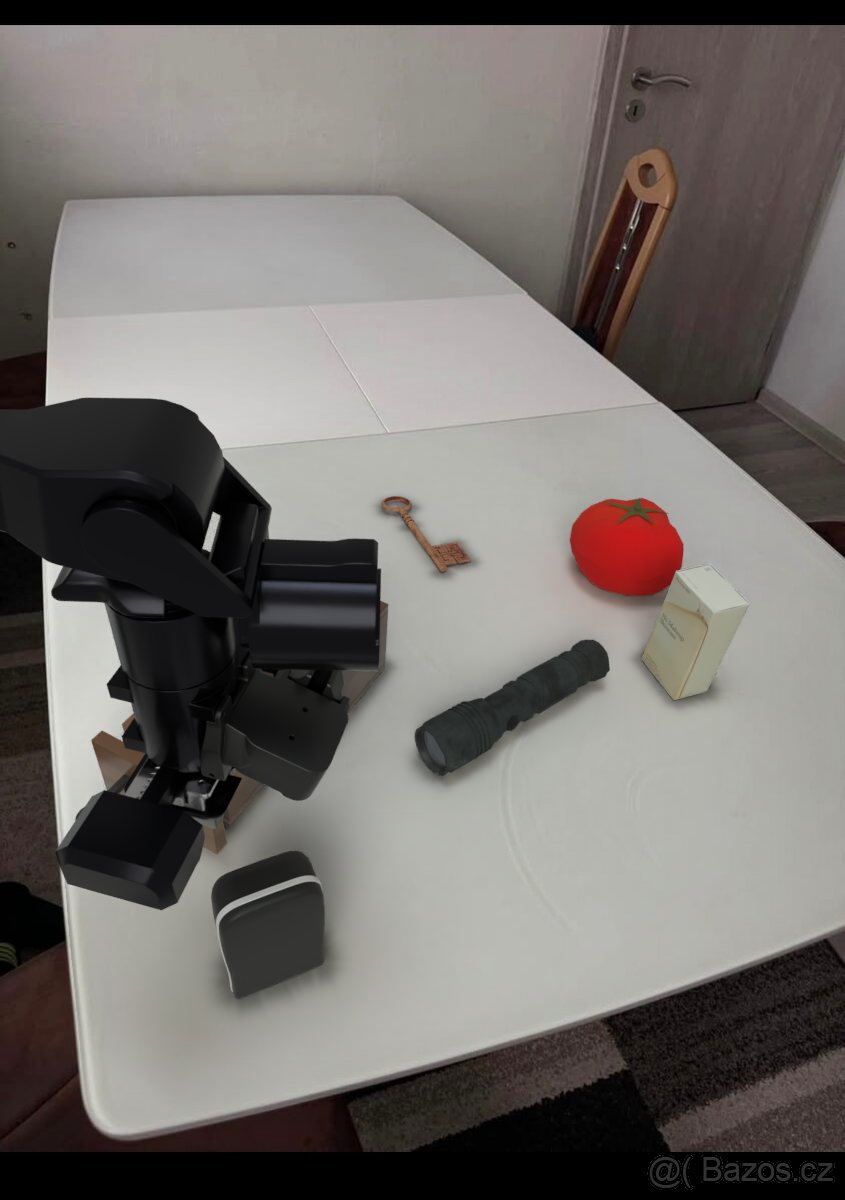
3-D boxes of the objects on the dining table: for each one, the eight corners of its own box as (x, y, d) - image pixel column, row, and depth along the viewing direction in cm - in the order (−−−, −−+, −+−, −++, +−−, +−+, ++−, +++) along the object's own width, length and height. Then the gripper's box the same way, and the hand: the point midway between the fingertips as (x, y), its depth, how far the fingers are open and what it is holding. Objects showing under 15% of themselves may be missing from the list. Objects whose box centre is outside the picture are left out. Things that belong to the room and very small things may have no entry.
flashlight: (411, 751, 73) (414, 714, 70) (571, 659, 84) (581, 624, 80) (445, 788, 71) (450, 753, 67) (607, 689, 81) (618, 654, 77)
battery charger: (311, 918, 61) (307, 833, 53) (328, 964, 58) (327, 882, 51) (218, 954, 59) (201, 870, 51) (232, 1004, 56) (216, 924, 48)
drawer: (175, 906, 60) (161, 857, 56) (60, 837, 64) (39, 785, 59) (314, 738, 73) (313, 687, 68) (212, 688, 76) (204, 636, 72)
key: (472, 567, 94) (418, 496, 104) (473, 560, 94) (419, 490, 103) (427, 574, 92) (376, 502, 102) (428, 568, 91) (377, 495, 101)
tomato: (656, 626, 88) (682, 552, 82) (548, 584, 92) (565, 510, 86) (684, 572, 96) (710, 500, 89) (583, 535, 100) (601, 463, 93)
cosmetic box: (639, 659, 84) (671, 569, 76) (675, 650, 86) (709, 560, 78) (674, 703, 80) (712, 612, 72) (711, 692, 81) (752, 602, 73)
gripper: (255, 846, 33) (277, 1004, 44) (382, 570, 47) (375, 740, 57) (11, 781, 35) (88, 949, 45) (203, 533, 49) (228, 705, 59)
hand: (212, 823), depth 52 cm, fingers closed
